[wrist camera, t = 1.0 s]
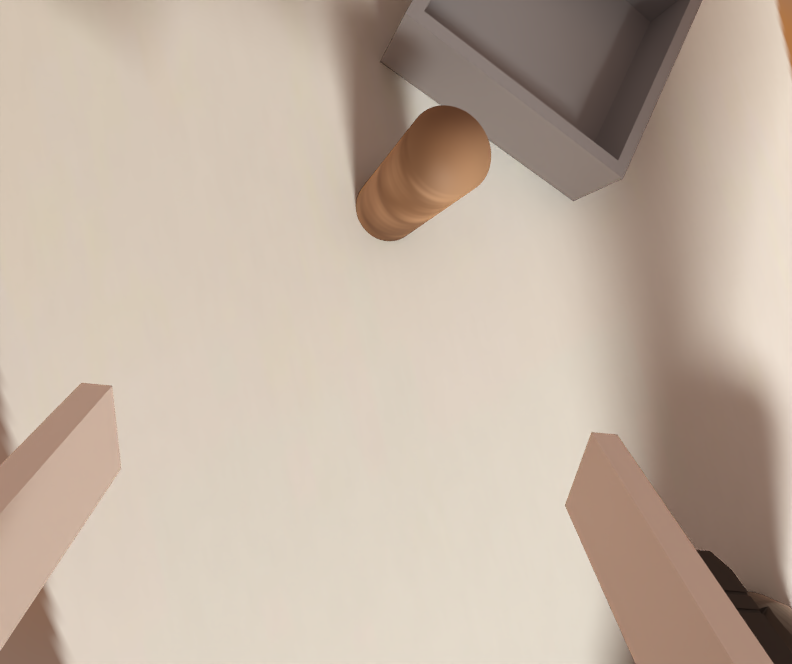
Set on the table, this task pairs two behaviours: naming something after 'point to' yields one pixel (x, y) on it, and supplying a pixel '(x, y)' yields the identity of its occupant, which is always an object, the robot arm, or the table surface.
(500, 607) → the table surface
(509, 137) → the tote
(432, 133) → the walnut cylinder
